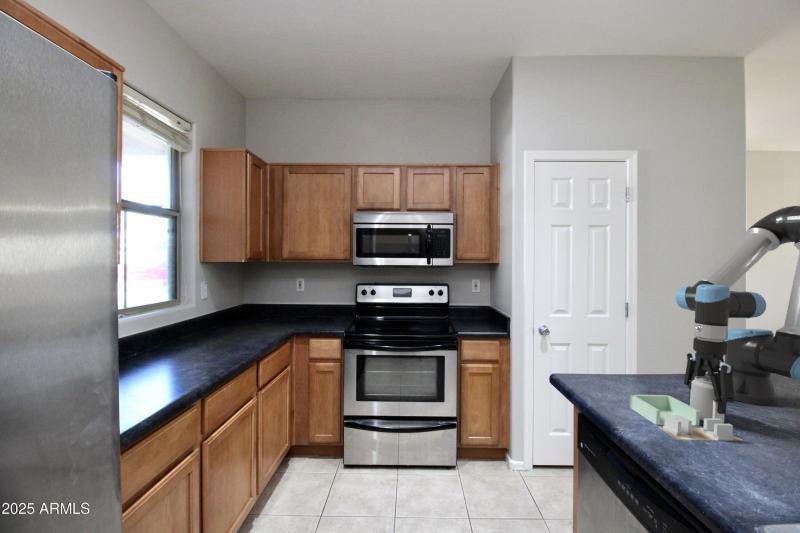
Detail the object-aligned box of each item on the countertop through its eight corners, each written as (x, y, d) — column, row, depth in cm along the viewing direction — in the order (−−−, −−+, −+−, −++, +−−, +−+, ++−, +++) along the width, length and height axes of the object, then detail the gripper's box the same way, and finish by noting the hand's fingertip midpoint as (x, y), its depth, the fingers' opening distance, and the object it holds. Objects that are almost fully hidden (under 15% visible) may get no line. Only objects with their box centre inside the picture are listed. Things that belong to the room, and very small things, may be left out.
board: (719, 430, 105) (720, 428, 105) (743, 442, 98) (743, 440, 98) (657, 429, 105) (657, 427, 105) (676, 441, 98) (676, 439, 98)
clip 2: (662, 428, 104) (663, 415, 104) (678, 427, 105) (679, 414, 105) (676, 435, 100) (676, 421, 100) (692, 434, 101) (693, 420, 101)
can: (729, 427, 107) (731, 384, 107) (698, 424, 109) (700, 381, 108) (713, 416, 115) (715, 375, 114) (684, 413, 116) (686, 373, 116)
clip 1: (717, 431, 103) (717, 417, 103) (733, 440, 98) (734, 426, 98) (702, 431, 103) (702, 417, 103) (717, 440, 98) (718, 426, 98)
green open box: (668, 409, 119) (668, 395, 118) (699, 427, 107) (699, 411, 106) (629, 409, 118) (629, 394, 118) (655, 426, 106) (656, 410, 106)
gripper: (671, 331, 121) (668, 403, 122) (727, 347, 101) (723, 434, 101) (695, 331, 121) (691, 404, 122) (756, 347, 101) (751, 434, 102)
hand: (706, 417), depth 112 cm, fingers closed on can, 7 cm apart
